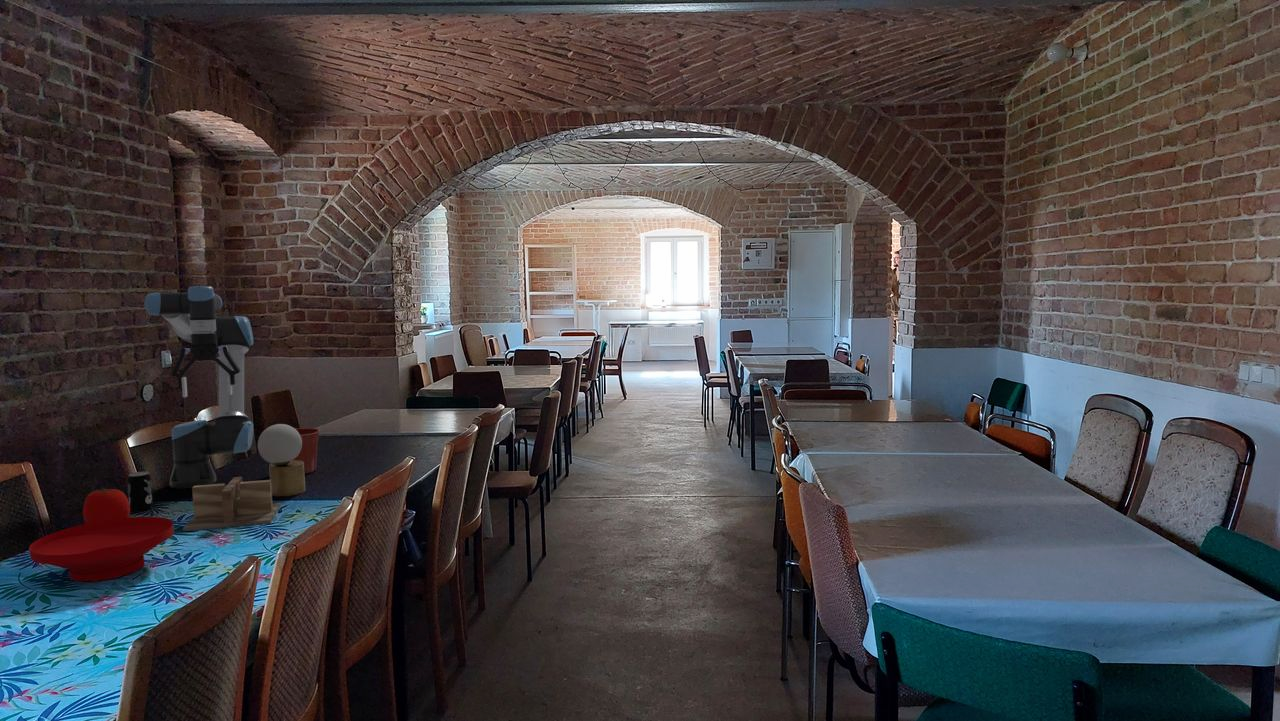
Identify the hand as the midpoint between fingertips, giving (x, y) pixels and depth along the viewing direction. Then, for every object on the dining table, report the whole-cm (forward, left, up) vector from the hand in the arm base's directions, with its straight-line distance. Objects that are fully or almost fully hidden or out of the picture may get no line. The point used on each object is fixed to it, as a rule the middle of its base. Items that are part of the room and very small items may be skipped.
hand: (208, 395), depth 259 cm
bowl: (+63, -12, -37) cm, 74 cm away
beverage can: (0, -22, -37) cm, 43 cm away
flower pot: (-39, +22, -37) cm, 58 cm away
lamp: (-4, +21, -37) cm, 43 cm away
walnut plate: (+22, +10, -36) cm, 43 cm away
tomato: (+27, -23, -37) cm, 51 cm away
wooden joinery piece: (+22, +10, -37) cm, 44 cm away
